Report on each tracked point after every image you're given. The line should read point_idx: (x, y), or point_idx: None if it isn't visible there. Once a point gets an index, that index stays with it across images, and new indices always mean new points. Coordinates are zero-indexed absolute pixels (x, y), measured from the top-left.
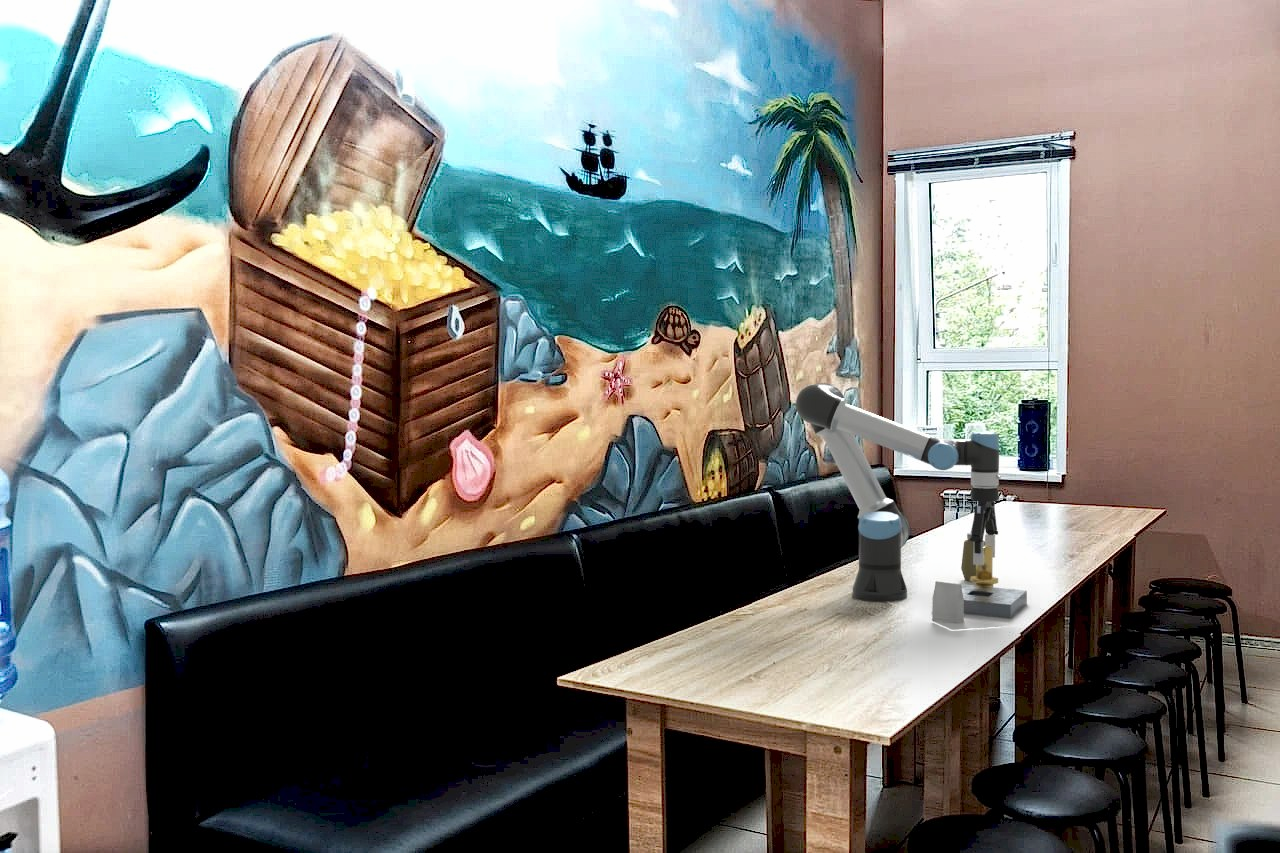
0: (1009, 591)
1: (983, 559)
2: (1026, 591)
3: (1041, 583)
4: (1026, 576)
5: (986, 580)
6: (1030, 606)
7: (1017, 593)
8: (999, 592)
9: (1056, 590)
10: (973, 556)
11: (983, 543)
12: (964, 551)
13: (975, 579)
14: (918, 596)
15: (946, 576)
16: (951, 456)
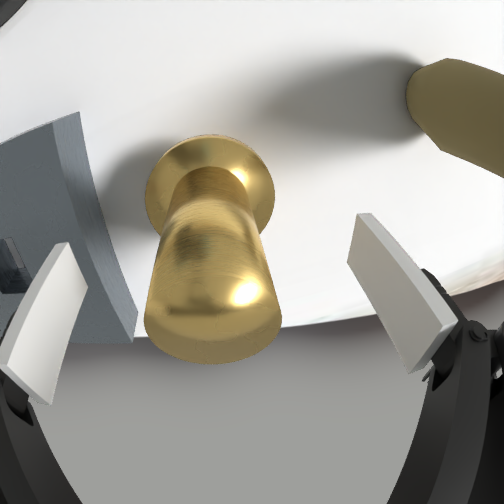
0: (84, 317)
1: (75, 310)
2: (128, 341)
3: (423, 262)
4: (481, 216)
5: (162, 227)
6: None
7: (82, 334)
8: None
9: (354, 308)
10: (37, 277)
11: (47, 394)
12: (498, 82)
13: (151, 181)
14: (44, 19)
15: (449, 17)
16: None
